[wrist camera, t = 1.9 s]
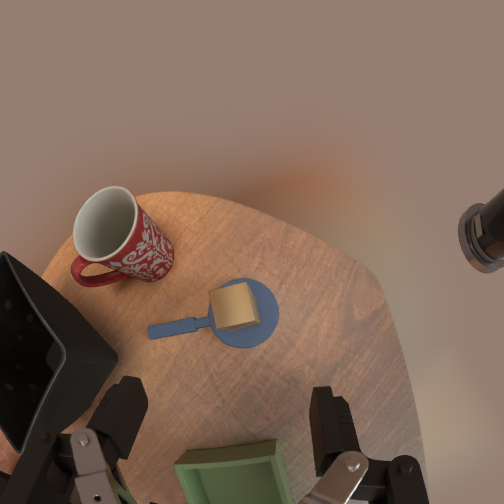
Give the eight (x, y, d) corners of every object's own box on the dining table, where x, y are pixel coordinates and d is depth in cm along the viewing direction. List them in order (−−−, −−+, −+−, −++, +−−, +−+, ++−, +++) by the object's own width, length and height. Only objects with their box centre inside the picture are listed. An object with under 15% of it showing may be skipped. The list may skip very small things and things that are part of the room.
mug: (158, 217, 42) (114, 171, 29) (192, 257, 39) (151, 218, 26) (102, 272, 40) (45, 245, 28) (131, 316, 38) (71, 302, 25)
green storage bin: (277, 439, 31) (275, 454, 25) (295, 506, 27) (296, 526, 21) (186, 450, 31) (172, 464, 26) (210, 515, 27) (201, 533, 22)
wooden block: (254, 294, 36) (246, 281, 28) (261, 324, 35) (255, 320, 27) (224, 301, 36) (208, 290, 29) (231, 331, 35) (216, 329, 27)
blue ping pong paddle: (269, 272, 37) (268, 270, 37) (285, 338, 35) (286, 338, 34) (145, 302, 38) (143, 301, 37) (156, 364, 35) (154, 364, 34)
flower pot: (73, 277, 41) (0, 246, 25) (147, 352, 36) (66, 352, 20) (31, 357, 37) (-38, 350, 21) (93, 435, 32) (20, 458, 16)
